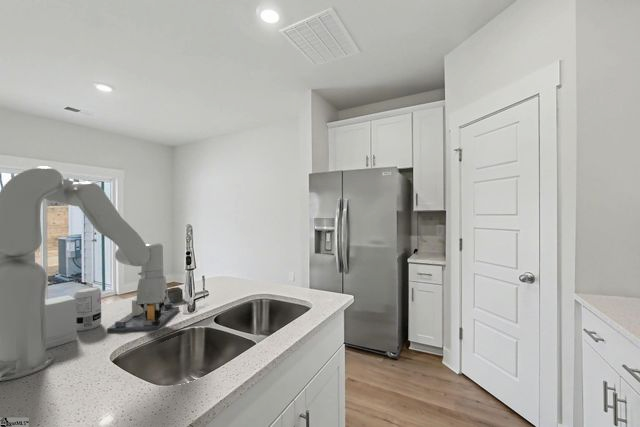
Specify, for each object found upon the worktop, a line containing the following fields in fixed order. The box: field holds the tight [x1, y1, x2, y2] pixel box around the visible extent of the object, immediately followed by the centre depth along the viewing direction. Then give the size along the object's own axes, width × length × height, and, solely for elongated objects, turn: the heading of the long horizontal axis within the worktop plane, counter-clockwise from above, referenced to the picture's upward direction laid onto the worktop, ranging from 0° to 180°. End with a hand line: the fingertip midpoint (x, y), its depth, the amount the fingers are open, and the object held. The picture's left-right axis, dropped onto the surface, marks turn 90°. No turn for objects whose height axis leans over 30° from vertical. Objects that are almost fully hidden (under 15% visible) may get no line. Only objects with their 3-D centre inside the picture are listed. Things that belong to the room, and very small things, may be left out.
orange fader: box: [147, 303, 156, 322], centre depth 110 cm, size 4×2×7 cm, turn 7°
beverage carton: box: [163, 286, 184, 304], centre depth 136 cm, size 8×19×7 cm, turn 132°
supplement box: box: [45, 294, 78, 350], centre depth 96 cm, size 9×9×15 cm
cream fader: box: [131, 297, 143, 316], centre depth 117 cm, size 4×2×7 cm, turn 7°
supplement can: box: [73, 286, 102, 332], centre depth 108 cm, size 8×8×15 cm
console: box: [106, 303, 180, 333], centre depth 115 cm, size 21×18×4 cm
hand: (153, 318), depth 110 cm, fingers closed on orange fader, 2 cm apart
